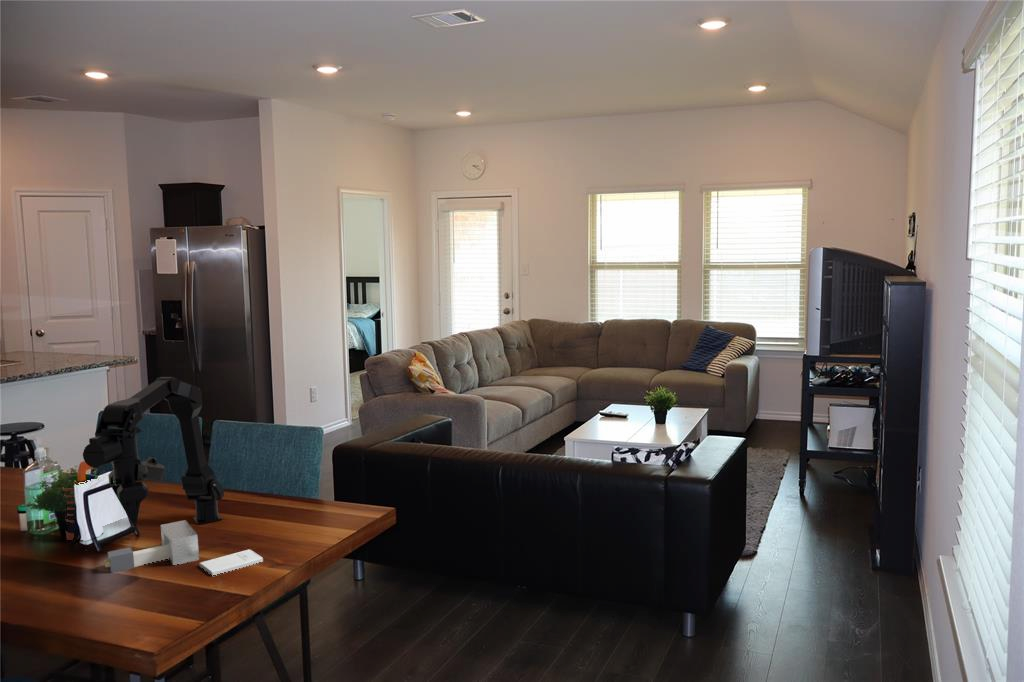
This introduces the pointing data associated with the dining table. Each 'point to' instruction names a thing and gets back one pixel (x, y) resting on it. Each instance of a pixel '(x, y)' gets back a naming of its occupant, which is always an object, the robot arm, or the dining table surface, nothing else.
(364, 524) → the dining table surface
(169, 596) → the dining table surface
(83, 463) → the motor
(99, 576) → the dining table surface
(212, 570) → the external hard drive
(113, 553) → the cable plug
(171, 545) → the block
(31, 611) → the dining table surface
